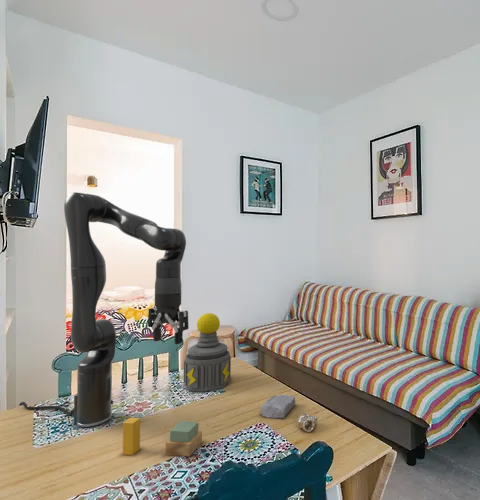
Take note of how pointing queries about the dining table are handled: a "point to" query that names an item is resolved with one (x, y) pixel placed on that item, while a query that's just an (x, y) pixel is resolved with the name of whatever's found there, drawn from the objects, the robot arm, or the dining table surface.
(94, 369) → the robot arm
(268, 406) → the stone block
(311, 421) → the ornament
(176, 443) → the tower base
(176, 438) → the block
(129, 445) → the bar
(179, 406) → the dining table surface
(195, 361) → the decorative lamp
